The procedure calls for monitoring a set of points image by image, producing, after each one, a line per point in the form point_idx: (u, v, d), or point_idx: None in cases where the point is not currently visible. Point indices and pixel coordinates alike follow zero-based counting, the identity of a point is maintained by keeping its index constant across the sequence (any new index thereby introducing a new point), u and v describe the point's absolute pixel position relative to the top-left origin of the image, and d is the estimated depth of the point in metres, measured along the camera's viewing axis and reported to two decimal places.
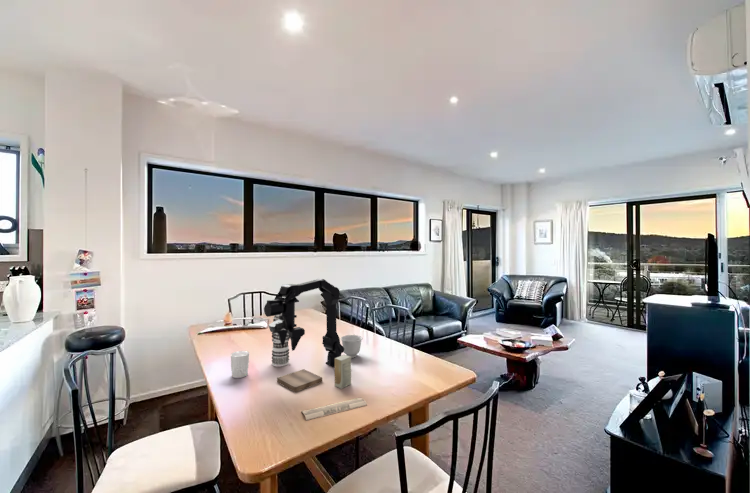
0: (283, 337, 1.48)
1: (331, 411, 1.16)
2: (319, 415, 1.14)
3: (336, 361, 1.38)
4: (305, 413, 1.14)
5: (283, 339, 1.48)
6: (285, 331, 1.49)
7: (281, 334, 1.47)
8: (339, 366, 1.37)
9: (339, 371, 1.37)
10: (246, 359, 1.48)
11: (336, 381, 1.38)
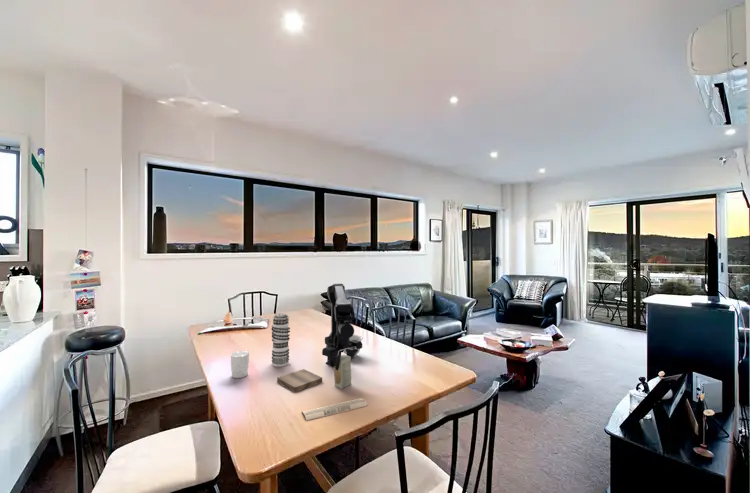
0: None
1: (331, 411, 1.16)
2: (319, 415, 1.14)
3: None
4: (305, 413, 1.14)
5: None
6: (351, 352, 1.41)
7: (348, 354, 1.43)
8: (339, 366, 1.37)
9: (339, 371, 1.37)
10: (246, 359, 1.48)
11: (336, 381, 1.38)
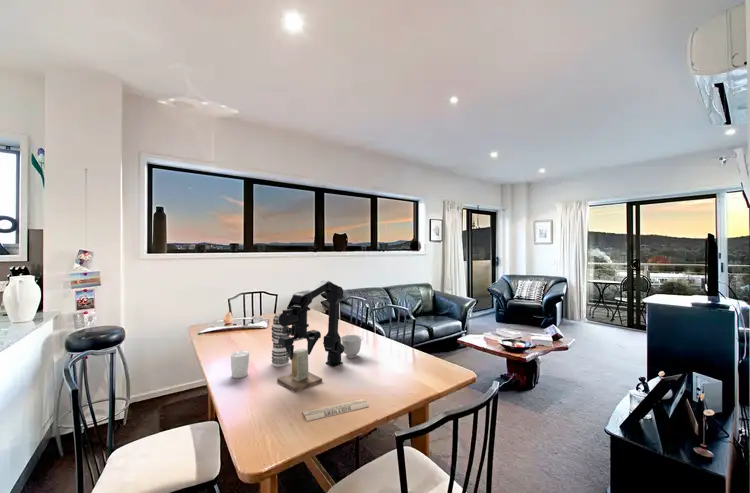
0: (309, 347, 1.46)
1: (332, 412, 1.15)
2: (320, 416, 1.13)
3: None
4: (306, 414, 1.13)
5: (309, 348, 1.46)
6: (311, 341, 1.45)
7: (309, 343, 1.46)
8: (295, 359, 1.39)
9: (295, 364, 1.39)
10: (246, 359, 1.48)
11: (293, 374, 1.41)
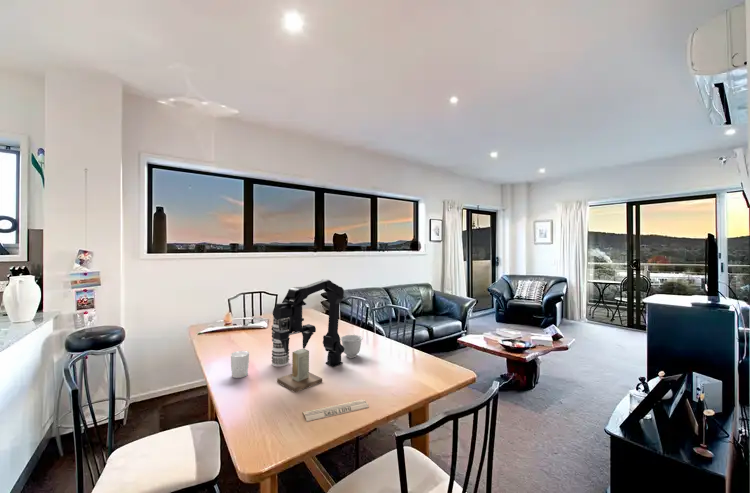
0: (304, 341, 1.48)
1: (332, 413, 1.15)
2: (320, 417, 1.13)
3: (293, 355, 1.40)
4: (306, 414, 1.13)
5: (304, 342, 1.48)
6: (306, 335, 1.48)
7: (304, 337, 1.49)
8: (296, 360, 1.39)
9: (296, 364, 1.39)
10: (246, 359, 1.48)
11: (293, 374, 1.41)
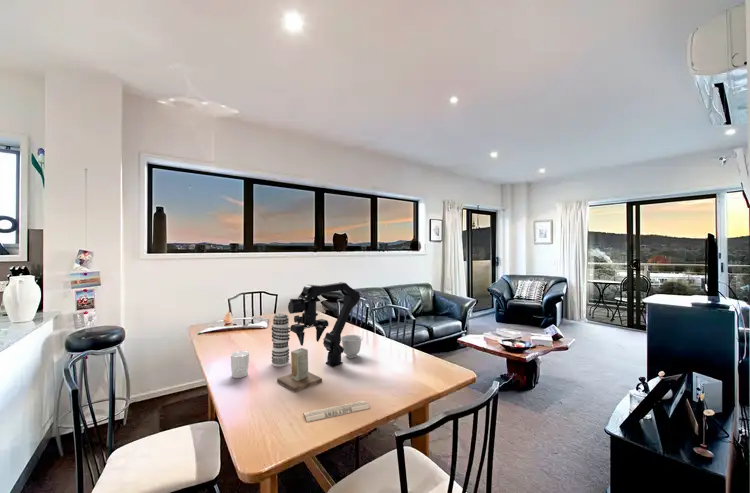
0: (318, 334, 1.59)
1: (333, 414, 1.15)
2: (320, 417, 1.12)
3: (292, 354, 1.41)
4: (306, 415, 1.13)
5: (318, 335, 1.59)
6: (320, 329, 1.59)
7: (317, 331, 1.60)
8: (295, 359, 1.40)
9: (295, 364, 1.40)
10: (246, 359, 1.48)
11: (293, 374, 1.41)
